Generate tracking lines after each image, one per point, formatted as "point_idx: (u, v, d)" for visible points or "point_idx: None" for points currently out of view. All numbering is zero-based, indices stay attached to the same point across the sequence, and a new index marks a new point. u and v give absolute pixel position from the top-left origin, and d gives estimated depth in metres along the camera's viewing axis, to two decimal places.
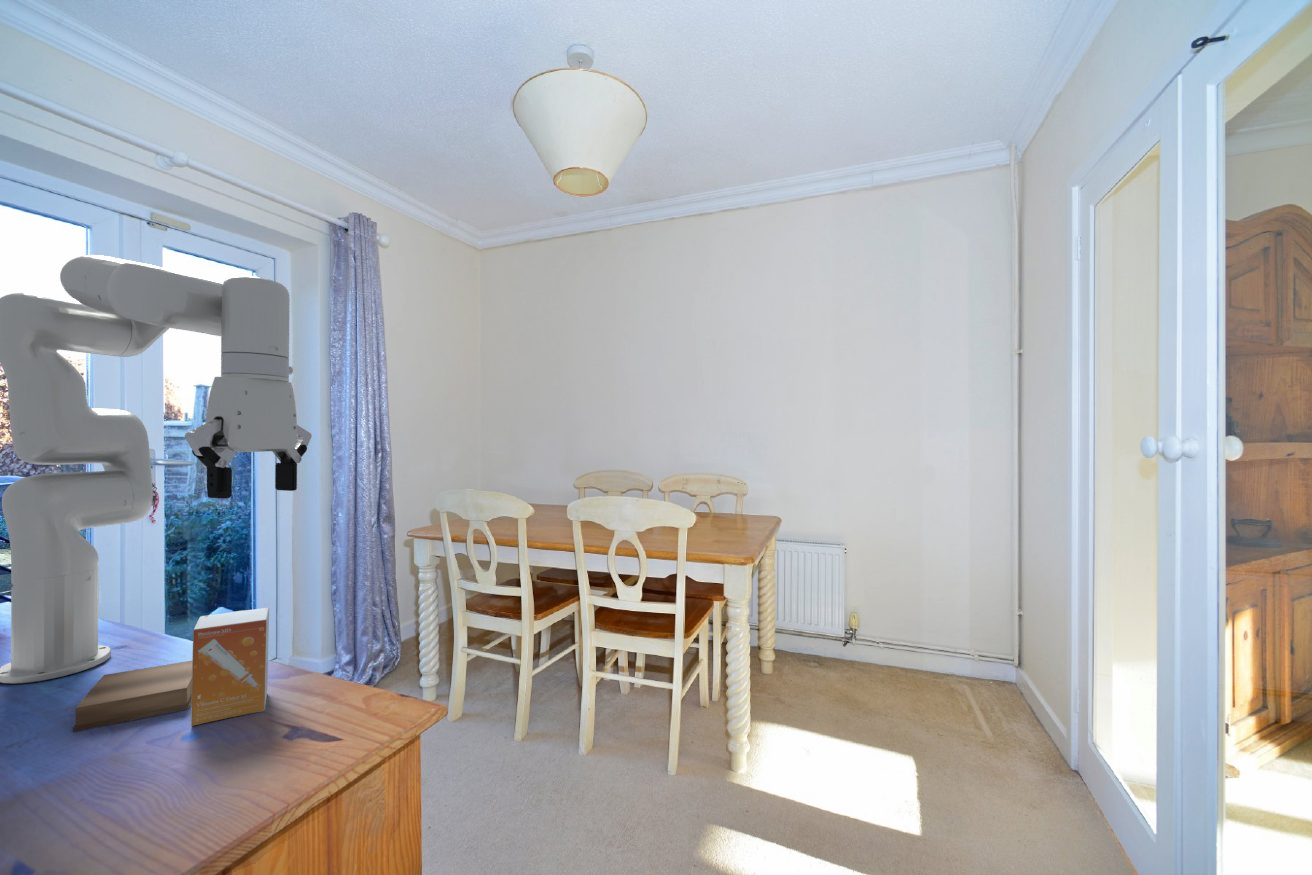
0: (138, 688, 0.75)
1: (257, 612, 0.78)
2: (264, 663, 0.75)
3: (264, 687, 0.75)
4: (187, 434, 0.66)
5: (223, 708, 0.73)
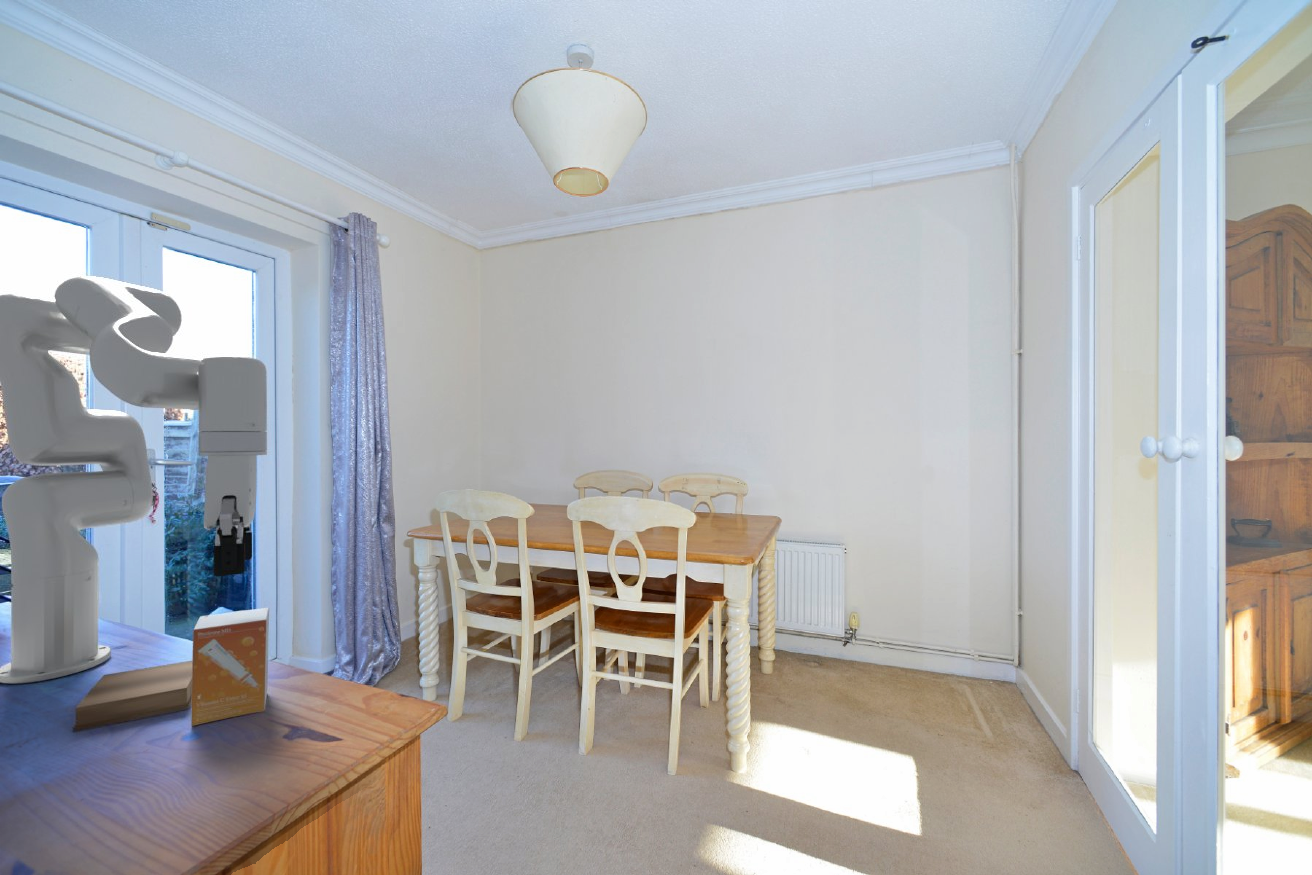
0: (138, 688, 0.75)
1: (257, 612, 0.78)
2: (264, 663, 0.75)
3: (264, 687, 0.75)
4: (222, 516, 0.68)
5: (223, 708, 0.73)
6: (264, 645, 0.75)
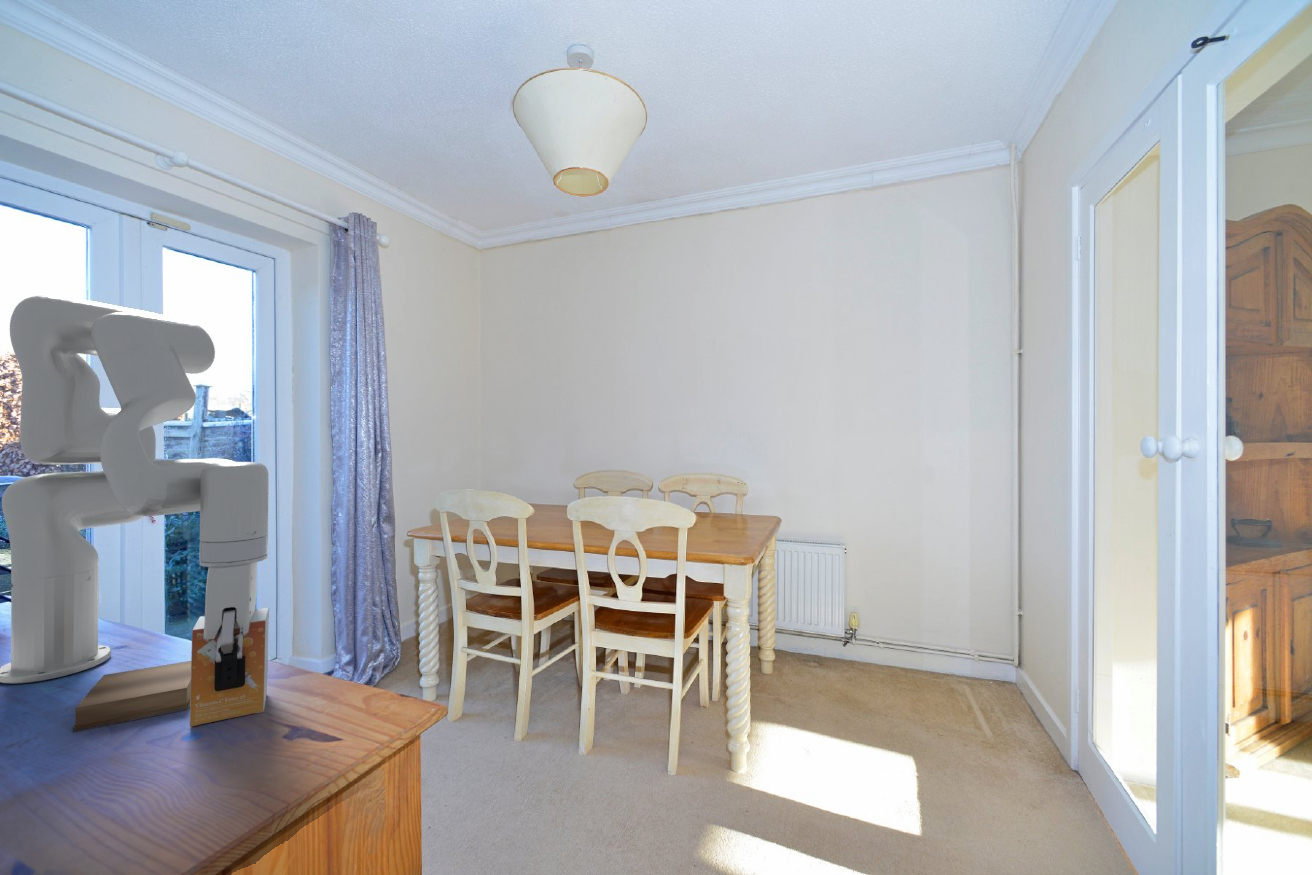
0: (138, 688, 0.75)
1: (256, 612, 0.78)
2: (263, 664, 0.75)
3: (263, 688, 0.75)
4: (223, 642, 0.69)
5: (222, 708, 0.73)
6: (263, 646, 0.75)
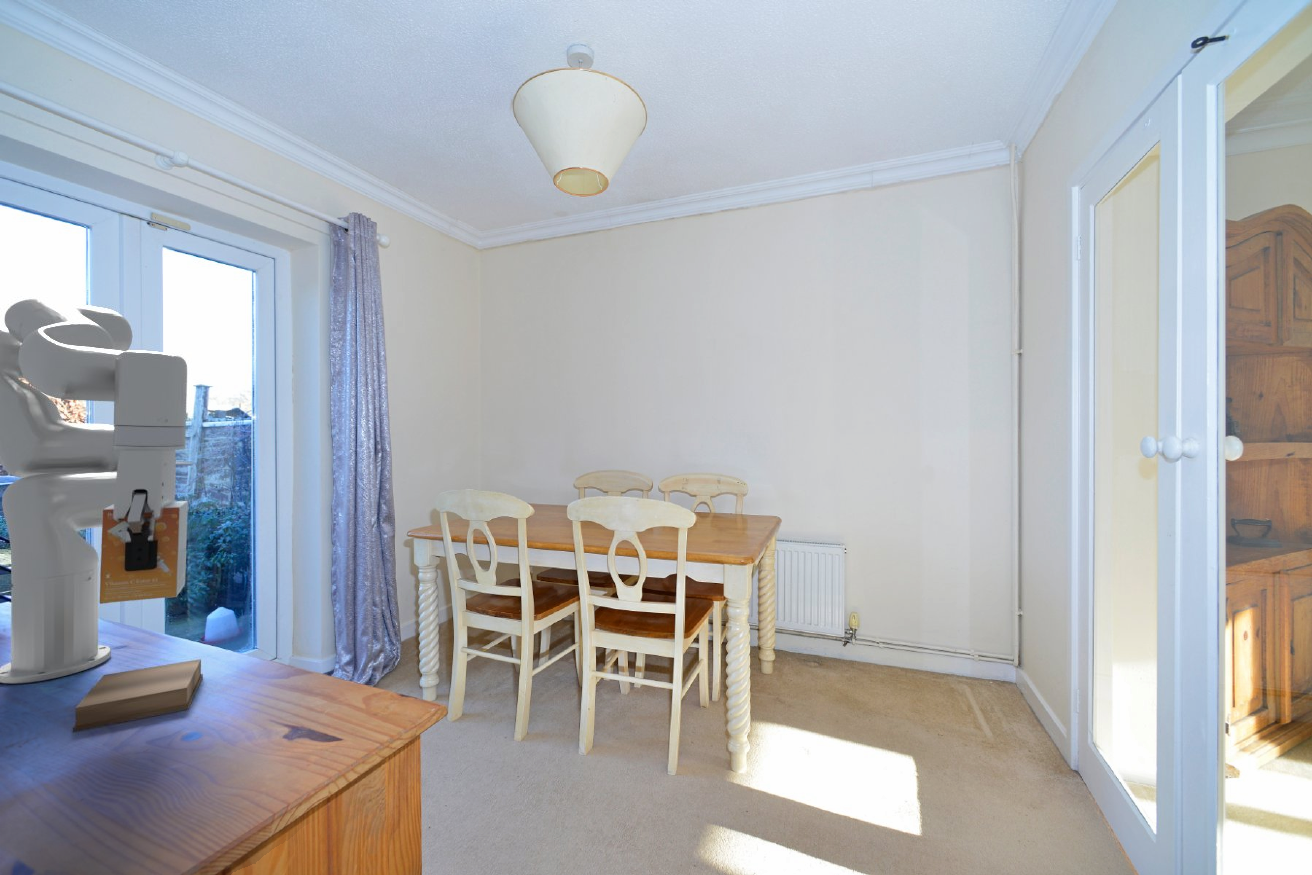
0: (138, 688, 0.75)
1: (173, 503, 0.79)
2: (176, 550, 0.77)
3: (176, 573, 0.77)
4: (131, 519, 0.70)
5: (133, 589, 0.74)
6: (177, 532, 0.77)
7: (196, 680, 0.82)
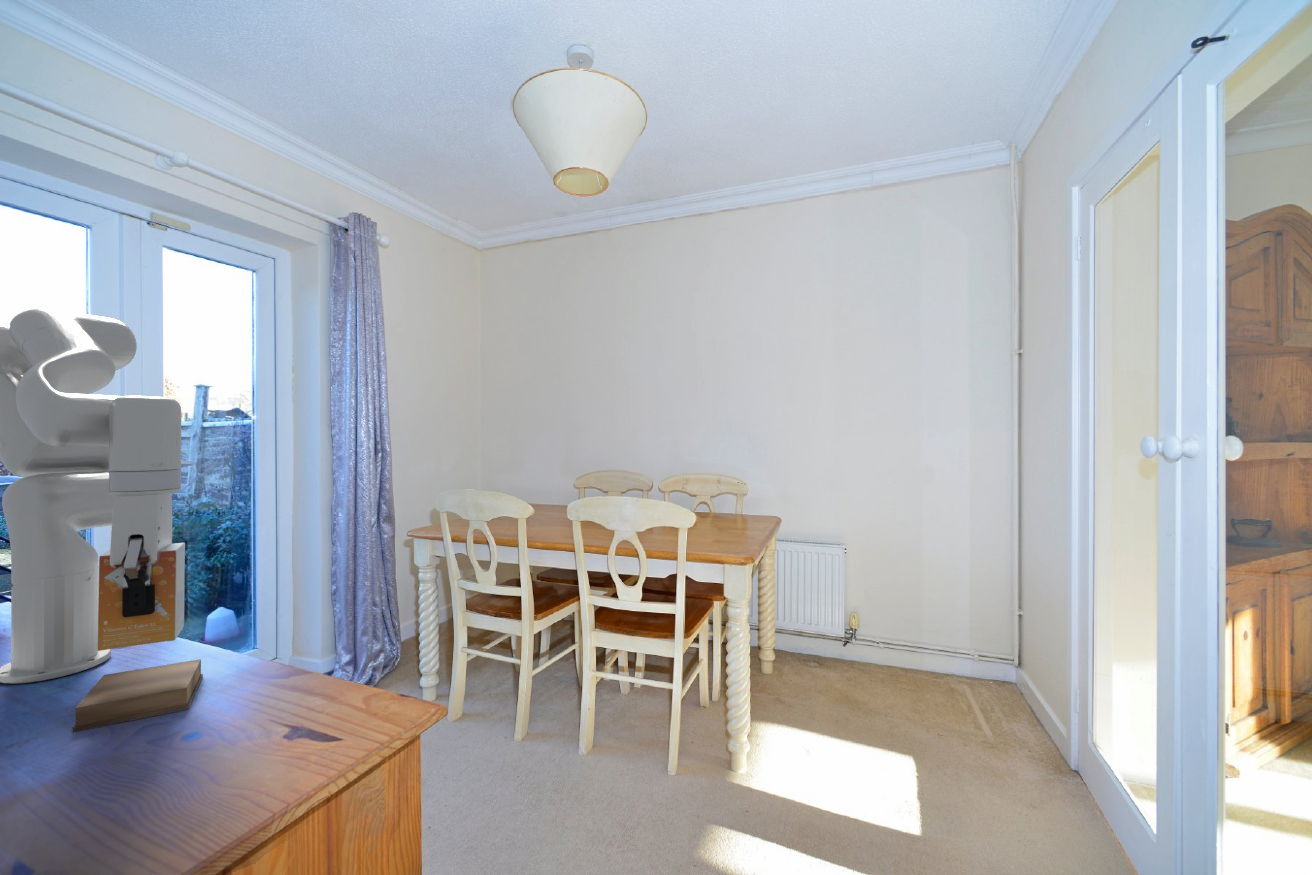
0: (138, 688, 0.75)
1: (170, 545, 0.79)
2: (174, 593, 0.76)
3: (174, 617, 0.77)
4: (127, 566, 0.70)
5: (131, 635, 0.74)
6: (174, 575, 0.76)
7: (196, 680, 0.82)
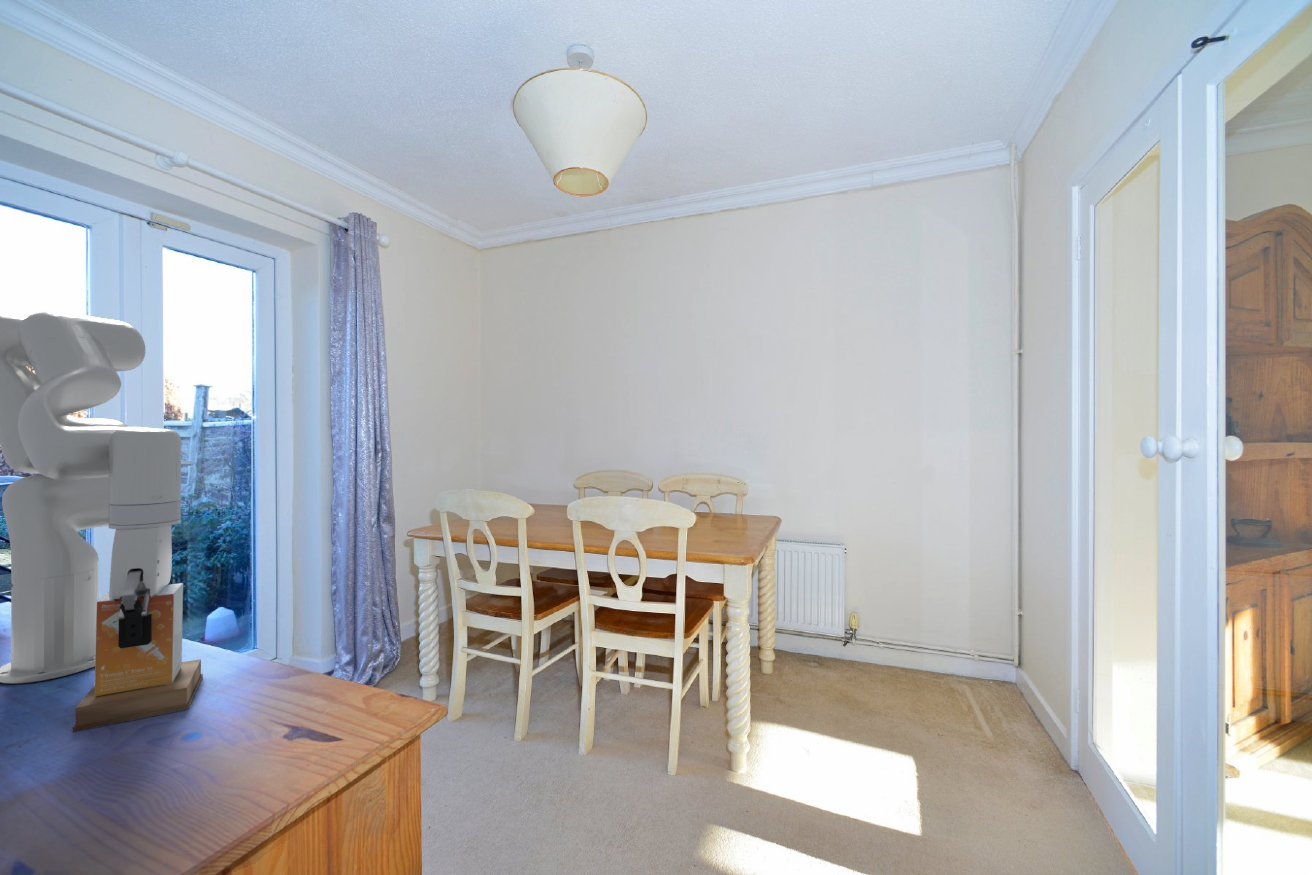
0: None
1: (168, 587, 0.79)
2: (171, 637, 0.76)
3: (172, 660, 0.77)
4: (124, 593, 0.70)
5: (128, 679, 0.74)
6: (171, 619, 0.76)
7: (196, 680, 0.82)
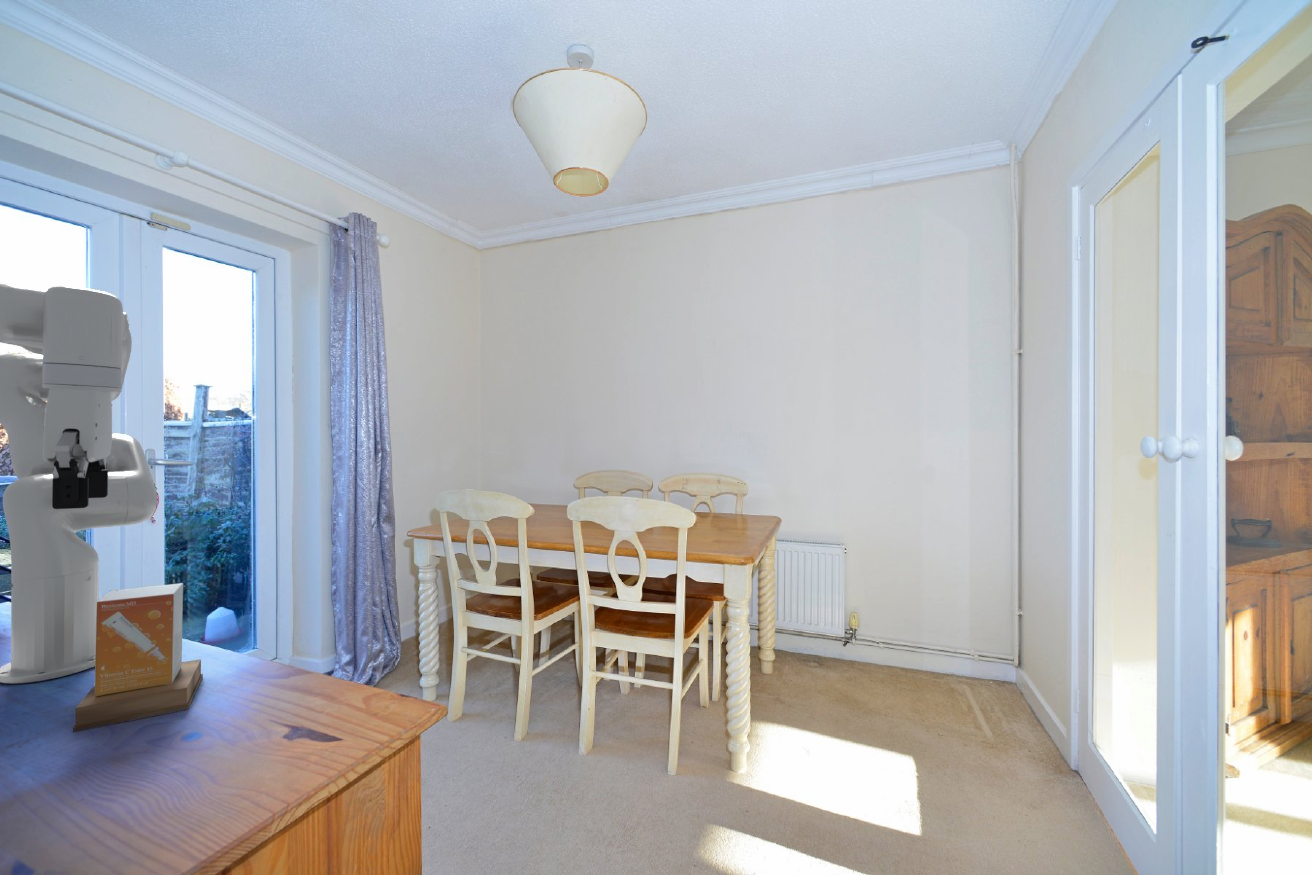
0: None
1: (168, 587, 0.79)
2: (171, 637, 0.76)
3: (171, 660, 0.77)
4: (59, 448, 0.68)
5: (128, 679, 0.74)
6: (171, 619, 0.76)
7: (196, 680, 0.82)
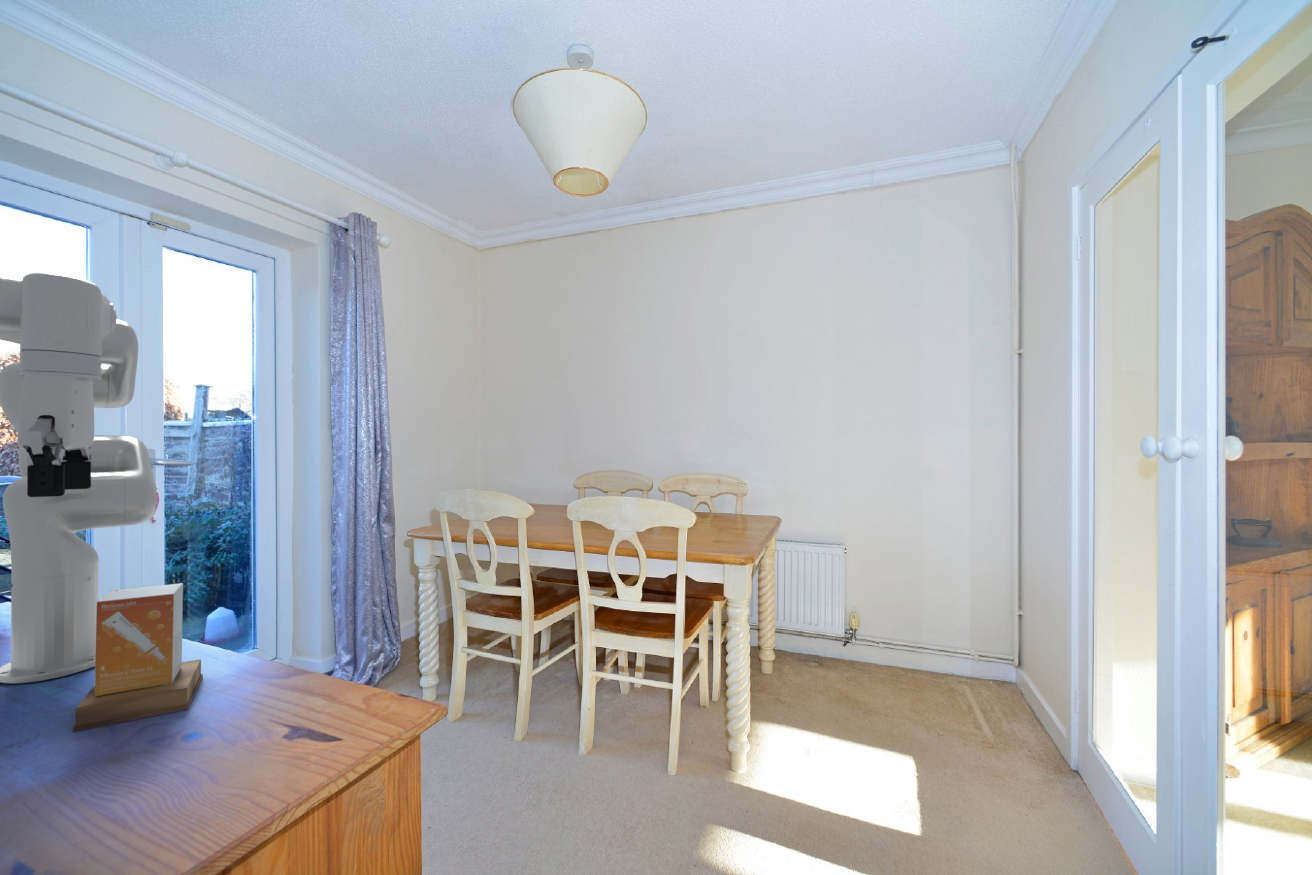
0: None
1: (168, 587, 0.79)
2: (171, 637, 0.76)
3: (171, 660, 0.77)
4: (31, 433, 0.66)
5: (128, 679, 0.74)
6: (171, 619, 0.76)
7: (196, 680, 0.82)
